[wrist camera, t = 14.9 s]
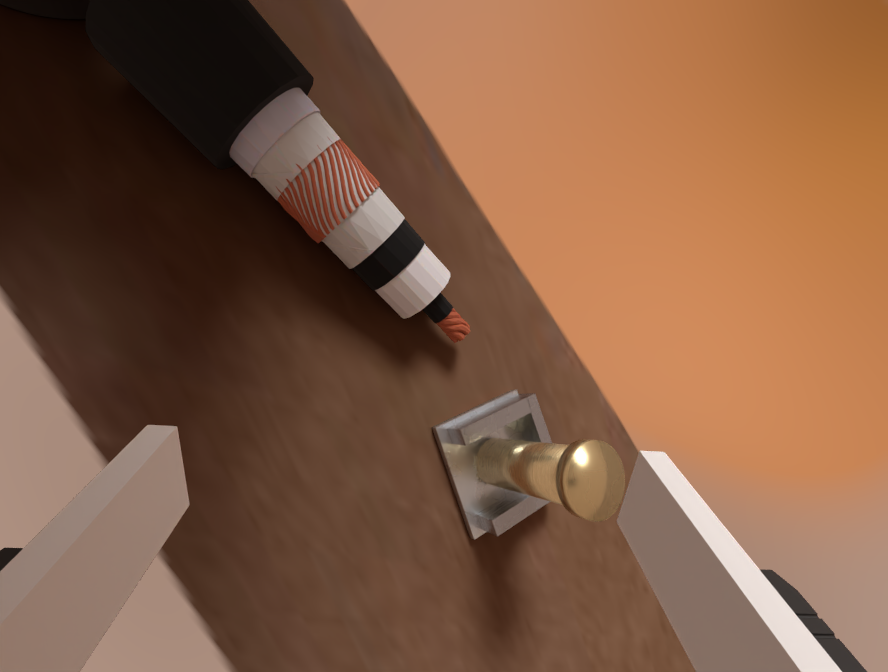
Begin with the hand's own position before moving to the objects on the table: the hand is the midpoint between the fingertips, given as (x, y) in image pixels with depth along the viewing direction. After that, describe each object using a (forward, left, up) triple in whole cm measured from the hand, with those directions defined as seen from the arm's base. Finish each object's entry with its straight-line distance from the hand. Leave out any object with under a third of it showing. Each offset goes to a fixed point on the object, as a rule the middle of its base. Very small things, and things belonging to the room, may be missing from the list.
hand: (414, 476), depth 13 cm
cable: (-17, +9, -26) cm, 33 cm away
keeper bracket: (+10, +17, -26) cm, 33 cm away
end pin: (+10, +17, -25) cm, 32 cm away
